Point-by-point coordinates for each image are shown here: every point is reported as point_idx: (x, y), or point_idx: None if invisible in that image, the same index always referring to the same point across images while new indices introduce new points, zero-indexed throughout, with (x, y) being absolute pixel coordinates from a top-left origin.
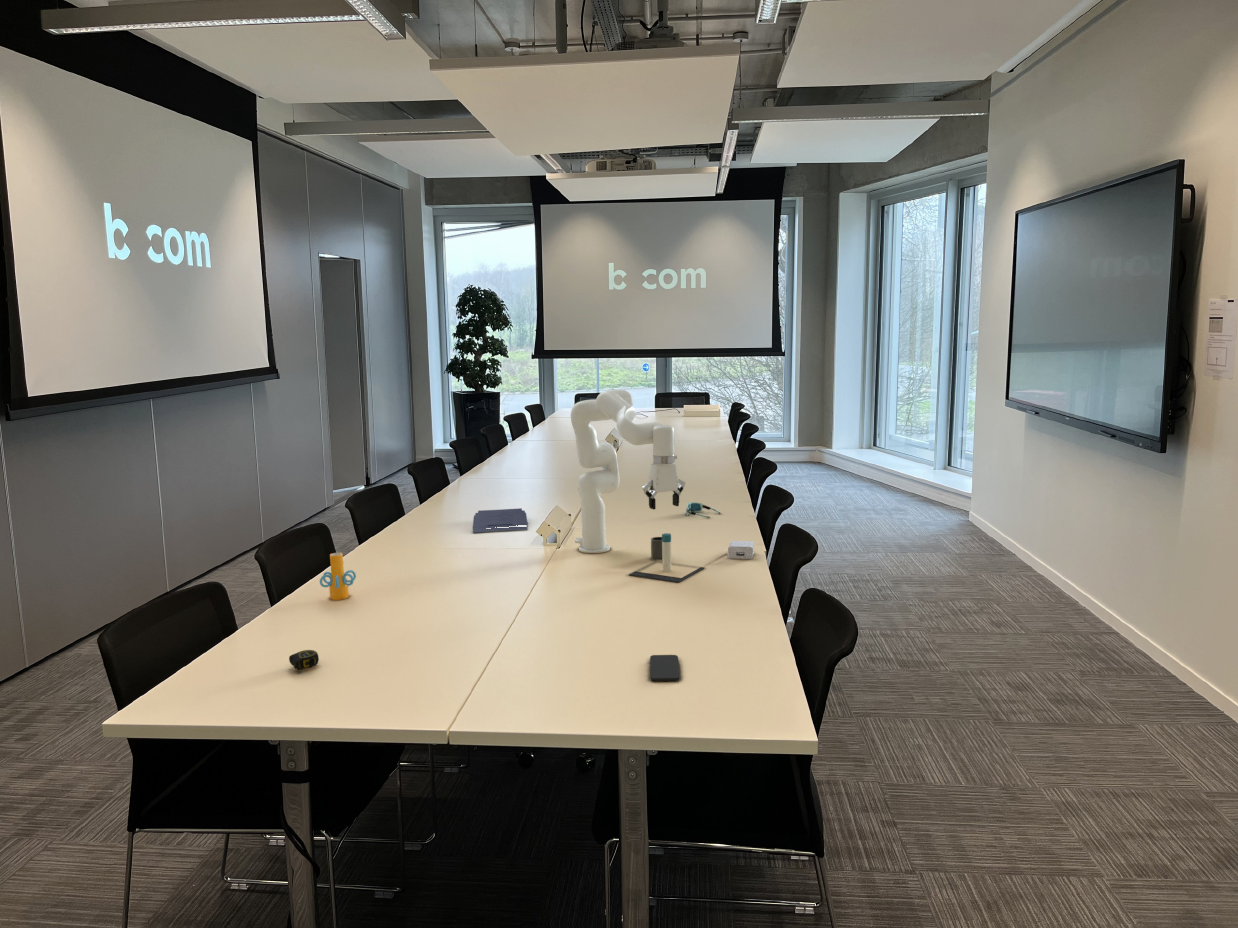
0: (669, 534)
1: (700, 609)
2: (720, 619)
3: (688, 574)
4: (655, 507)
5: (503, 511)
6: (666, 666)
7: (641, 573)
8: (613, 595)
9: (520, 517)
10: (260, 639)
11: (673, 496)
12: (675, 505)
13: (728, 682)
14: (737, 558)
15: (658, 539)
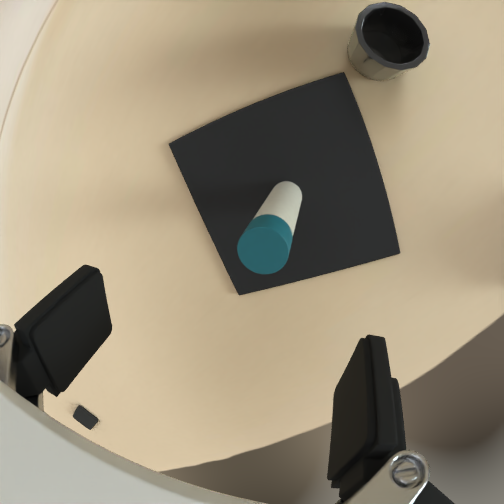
0: (273, 264)
1: (178, 396)
2: (180, 423)
3: (308, 270)
4: (105, 339)
5: None
6: (85, 420)
7: (203, 160)
8: (82, 252)
9: None
10: None
11: (358, 432)
12: (341, 377)
13: (119, 449)
14: None
15: (407, 20)
